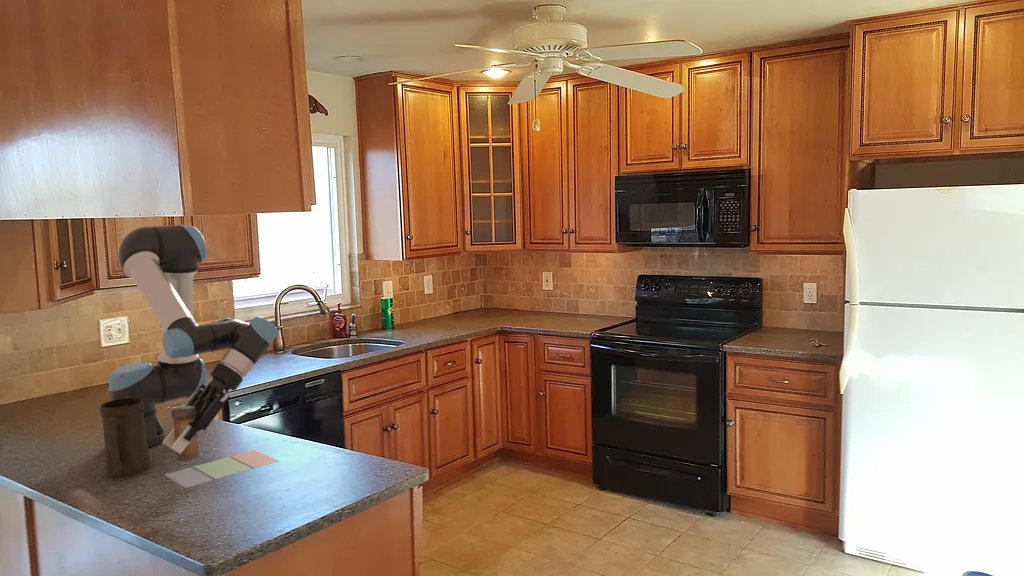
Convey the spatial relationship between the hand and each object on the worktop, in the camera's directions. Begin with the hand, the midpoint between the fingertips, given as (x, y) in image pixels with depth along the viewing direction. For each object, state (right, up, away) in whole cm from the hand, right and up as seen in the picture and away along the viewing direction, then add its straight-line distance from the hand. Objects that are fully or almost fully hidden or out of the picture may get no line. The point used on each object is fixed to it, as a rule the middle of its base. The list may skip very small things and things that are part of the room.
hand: (171, 448), depth 176 cm
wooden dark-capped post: (+3, -3, +3) cm, 5 cm away
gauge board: (+9, -9, +10) cm, 16 cm away
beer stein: (-15, -10, +8) cm, 20 cm away
